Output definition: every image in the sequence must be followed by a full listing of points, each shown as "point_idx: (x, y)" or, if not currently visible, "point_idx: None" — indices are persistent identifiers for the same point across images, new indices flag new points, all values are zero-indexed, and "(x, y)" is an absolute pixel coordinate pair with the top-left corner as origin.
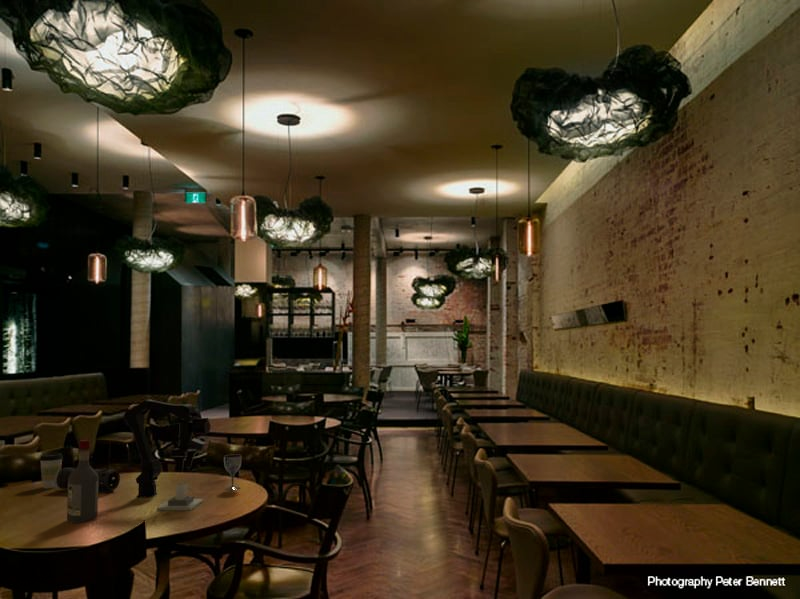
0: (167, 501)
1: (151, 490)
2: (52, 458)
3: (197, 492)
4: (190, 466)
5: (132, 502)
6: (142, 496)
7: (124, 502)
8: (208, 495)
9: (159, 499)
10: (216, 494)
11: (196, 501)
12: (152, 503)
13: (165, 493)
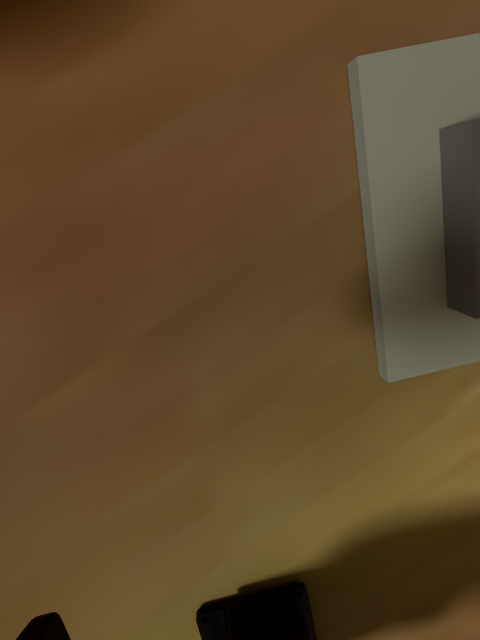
0: (473, 359)
1: (288, 636)
2: None
3: (34, 345)
4: (47, 624)
5: (436, 594)
6: (314, 630)
7: (439, 633)
8: (107, 157)
9: (338, 492)
10: (37, 85)
11: (462, 80)
12: (452, 465)
13: (158, 567)
